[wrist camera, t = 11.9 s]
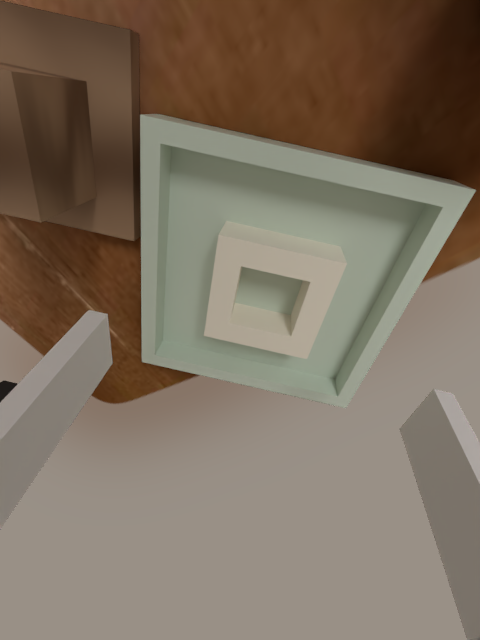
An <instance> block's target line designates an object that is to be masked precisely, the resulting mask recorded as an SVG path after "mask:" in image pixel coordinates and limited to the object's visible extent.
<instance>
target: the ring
mask: <svg viewBox="0 0 480 640" xmlns="http://www.w3.org/2000/svg"><path fill="white" fill-rule="evenodd" d="M346 265H347V262H346V260H345V257H344V254H343V252H342V249H341V246H336V245H332V244H327V243H323V242H318V241H314V240H310V239H305V238H301V237H296V236H292V235H287V234H283V233H279V232H274V231H270V230H265V229H261V228H256V227H252V226H248V225H243V224H239V223H234V222H230V221H226V222H225V224H224V226H223V228H222V229H221V231H220V233H219V235H218V242H217V248H216V255H215V262H214V269H213V276H212V283H211V290H210V297H209V304H208V311H207V317H206V324H205V331H204V336H207V337H211V338H216V339H220V340H224V341H229V342H233V343H238V344H242V345H246V346H251V347H255V348H260V349H264V350H269V351H273V352H277V353H282V354H286V355H291V356H295V357H299V358H304V359H307V358H308V356H309V353H310V351H311V348H312V346H313V344H314V341H315V339H316V336H317V334H318V332H319V329H320V327H321V325H322V322H323V320H324V317H325V315H326V313H327V310H328V308H329V306H330V303H331V301H332V298H333V296H334V294H335V291H336V289H337V287H338V284H339V282H340V279H341V277H342V275H343V272H344V270H345V267H346ZM242 267H246V268H251V269H255V270H260V271H264V272H269V273H273V274H277V275H282V276H286V277H291V278H295V279H299V280H303V281H302V284H301V287H300V290H299V293H298V296H297V299H296V302H295V304H294V307H293V310H292V313H291V315H288V314H283V313H279V312H274V311H270V310H266V309H261V308H257V307H252V306H248V305H244V304H239V303H235V301H236V296H237V291H238V286H239V281H240V276H241V272H242Z"/></svg>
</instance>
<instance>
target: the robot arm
mask: <svg viewBox="0 0 480 640" xmlns="http://www.w3.org/2000/svg"><path fill="white" fill-rule="evenodd" d="M112 363H113V361H112V352H111V342H110V332H109V322H108V314H105V313H100V312H96V311H92V310H88V311H87V312H86V313H85V314H84V315H83V316H82V317H81V318H80V319H79V321H78V322H77V323H76V324H75V325H74V326H73V327H72V328H71V329H70V330H69V331H68V332H67V333H66V334H65V335H64V336H63V337H62V338H61V339H60V340H59V341H58V343H57V344H56V345H55V346H54V347H53V348H52V349H51V350H50V351H49V352H48V353H47V354H46V355H45V356H44V357H43V358H42V359H41V360H40V361H39V362H38V364H37V365H36V366H35V367H34V368H33V369H32V370H31V371H30V372H29V373H28V374H27V375H26V376H25V377H24V378H23V379H22V380H21V381H20V382H19V383H18V384H17V383H12V382H8V381H2V382H0V529H1V528H2V526H3V525H4V523H5V522H6V520H7V519H8V517H9V516H10V514H11V513H12V511H13V510H14V508H15V507H16V505H17V504H18V502H19V501H20V500H21V498H22V497H23V495H24V494H25V492H26V490H27V489H28V487H29V486H30V485H31V483H32V482H33V480H34V479H35V477H36V476H37V474H38V473H39V471H40V470H41V468H42V467H43V466H44V464H45V463H46V461H47V460H48V458H49V457H50V455H51V454H52V452H53V451H54V449H55V448H56V446H57V445H58V443H59V442H60V440H61V439H62V437H63V436H64V434H65V433H66V431H67V430H68V428H69V427H70V426H71V424H72V423H73V421H74V419H75V418H76V417H77V415H78V414H79V412H80V411H81V409H82V408H83V406H84V405H85V403H86V402H87V400H88V399H89V397H90V396H91V394H92V393H93V391H94V390H95V389H96V387H97V386H98V384H99V383H100V381H101V380H102V378H103V377H104V375H105V374H106V372H107V371H108V369H109V368H110V366H111V365H112ZM400 432H401V435H402V438H403V441H404V444H405V447H406V450H407V454H408V457H409V460H410V463H411V466H412V469H413V472H414V476H415V478H416V482H417V485H418V488H419V491H420V494H421V497H422V500H423V503H424V507H425V510H426V512H427V516H428V519H429V522H430V525H431V529H432V531H433V534H434V538H435V541H436V544H437V547H438V550H439V553H440V557H441V560H442V563H443V566H444V569H445V572H446V575H447V578H448V581H449V585H450V588H451V591H452V594H453V597H454V600H455V603H456V606H457V609H458V613H459V616H460V619H461V622H462V625H463V628H464V631H465V634H466V638H467V640H480V443H479V441H478V439H477V437H476V435H475V433H474V432H473V430H472V428H471V426H470V424H469V422H468V420H467V418H466V417H465V415H464V413H463V411H462V409H461V407H460V405H459V404H458V402H457V400H456V398H455V396H454V394H453V393H450V392H445V391H441V390H437V389H433V390H432V391H431V393H430V394H429V395H428V396H427V397H426V398H425V400H424V401H423V402H422V403H421V404H420V406H419V407H418V408H417V409H416V410H415V411H414V413H413V414H412V415H411V416H410V418H409V419H408V420H407V421H406V422H405V423H404V424H403V426H402V427H401V428H400Z"/></svg>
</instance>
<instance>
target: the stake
mask: <svg viewBox="0 0 480 640" xmlns="http://www.w3.org/2000/svg"><path fill="white" fill-rule="evenodd" d="M0 213H1V214H5V215H10V216H14V217H18V218H23V219H27V220H32V221H36V222H43V221H47V222H51V223H56V224H60V225H64V226H69V227H73V228H78V229H82V230H87V231H91V232H95V233H100V234H104V235H109V236H113V237H117V238H122V239H126V240H131V241H135V240H136V239H138V238H139V237H140V236H141V230H140V92H139V34H138V33H136V32H134V31H132V30H129V29H125V28H120V27H116V26H111V25H107V24H102V23H98V22H93V21H89V20H85V19H80V18H76V17H71V16H67V15H62V14H58V13H53V12H49V11H44V10H40V9H35V8H31V7H27V6H22V5H18V4H13V3H9V2H4V1H0Z"/></svg>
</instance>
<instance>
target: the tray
mask: <svg viewBox="0 0 480 640" xmlns="http://www.w3.org/2000/svg"><path fill="white" fill-rule="evenodd" d="M140 171H141V325H142V362H145V363H149V364H153V365H158V366H162V367H167V368H171V369H175V370H180V371H184V372H189V373H193V374H197V375H202V376H206V377H211V378H215V379H219V380H224V381H228V382H233V383H237V384H241V385H246V386H250V387H255V388H259V389H263V390H268V391H272V392H277V393H281V394H285V395H290V396H294V397H299V398H303V399H308V400H312V401H316V402H321V403H325V404H329V405H335V406H338V407H342V408H346V407H347V406H348V404H349V402H350V401H351V399H352V397H353V396H354V394H355V392H356V390H357V389H358V387H359V385H360V384H361V382H362V381H363V379H364V377H365V376H366V374H367V372H368V371H369V369H370V367H371V366H372V364H373V362H374V361H375V359H376V357H377V355H378V354H379V352H380V351H381V349H382V347H383V345H384V344H385V342H386V340H387V339H388V337H389V335H390V334H391V332H392V330H393V329H394V327H395V325H396V324H397V322H398V320H399V319H400V317H401V315H402V314H403V312H404V310H405V309H406V307H407V305H408V304H409V302H410V300H411V299H412V297H413V295H414V294H415V292H416V290H417V289H418V287H419V285H420V284H421V282H422V280H423V278H424V277H425V275H426V273H427V272H428V270H429V268H430V267H431V265H432V263H433V262H434V260H435V258H436V257H437V255H438V253H439V252H440V250H441V248H442V247H443V245H444V243H445V242H446V240H447V238H448V237H449V235H450V233H451V232H452V230H453V228H454V227H455V225H456V223H457V222H458V220H459V218H460V217H461V215H462V213H463V211H464V210H465V208H466V206H467V205H468V203H469V201H470V200H471V198H472V196H473V195H474V193H475V191H476V190H475V189H472V188H470V187H468V186H465V185H463V184H461V183H459V182H456V181H454V180H450V179H446V178H441V177H437V176H432V175H428V174H423V173H419V172H414V171H410V170H406V169H401V168H397V167H392V166H388V165H383V164H379V163H374V162H370V161H366V160H361V159H357V158H352V157H348V156H343V155H339V154H334V153H330V152H326V151H321V150H317V149H312V148H308V147H303V146H299V145H294V144H290V143H286V142H281V141H277V140H272V139H268V138H263V137H259V136H254V135H250V134H245V133H241V132H237V131H232V130H228V129H223V128H219V127H214V126H210V125H205V124H201V123H197V122H192V121H188V120H183V119H179V118H174V117H170V116H165V115H161V114H141V115H140ZM226 221H230V222H234V223H239V224H243V225H248V226H252V227H256V228H261V229H265V230H270V231H274V232H279V233H283V234H287V235H292V236H296V237H301V238H305V239H310V240H314V241H318V242H323V243H327V244H332V245H336V246H341V249H342V252H343V254H344V257H345V260H346V262H347V265H346V267H345V270H344V272H343V275H342V277H341V279H340V282H339V284H338V287H337V289H336V291H335V294H334V296H333V298H332V301H331V303H330V306H329V308H328V310H327V313H326V315H325V317H324V320H323V322H322V325H321V327H320V329H319V332H318V334H317V336H316V339H315V341H314V344H313V346H312V348H311V351H310V353H309V356H308V358H307V359H304V358H299V357H295V356H291V355H286V354H282V353H277V352H273V351H269V350H264V349H260V348H255V347H251V346H246V345H242V344H238V343H233V342H229V341H224V340H220V339H216V338H211V337H207V336H204V331H205V324H206V317H207V311H208V304H209V297H210V290H211V283H212V276H213V269H214V262H215V255H216V248H217V242H218V235H219V233H220V231H221V229H222V228H223V226H224V224H225V222H226ZM302 281H303V280H299V279H295V278H291V277H286V276H282V275H277V274H273V273H269V272H264V271H260V270H255V269H251V268H246V267H242V272H241V276H240V281H239V286H238V291H237V296H236V301H235V303H239V304H244V305H248V306H252V307H257V308H261V309H266V310H270V311H274V312H279V313H283V314H288V315H291V313H292V310H293V307H294V304H295V302H296V299H297V296H298V293H299V290H300V287H301V284H302Z"/></svg>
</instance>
